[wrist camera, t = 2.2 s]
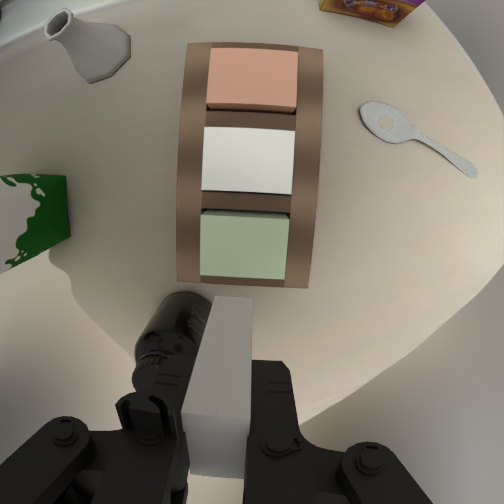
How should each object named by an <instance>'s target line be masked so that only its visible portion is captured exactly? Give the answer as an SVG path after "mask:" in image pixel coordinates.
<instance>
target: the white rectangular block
mask: <svg viewBox="0 0 504 504" xmlns="http://www.w3.org/2000/svg"><path fill="white" fill-rule="evenodd" d="M294 143H295V131H286V130H273V129H257V128H234V127H204V144H203V163H202V188H201V190H221V191H244V192H263V193H279V194H291V192H292V177H293V161H294Z"/></svg>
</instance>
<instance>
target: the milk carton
mask: <svg viewBox="0 0 504 504" xmlns="http://www.w3.org/2000/svg"><path fill="white" fill-rule="evenodd" d="M69 237H70V229H69V220H68V210H67V198H66V182H65V176H58V175H44V174H14V175H5V176H0V274H2V273H3V272H5V271H7V270H9V269H11V268H13V267H15V266H17V265H19V264H21V263H23V262H25V261H27V260H29V259H31V258H33V257H35V256H37V255H39V254H40V253H42V252H44V251H46V250H47V249H49V248H51V247H53V246H54V245H56V244H58V243H60V242H61V241H63V240H65V239H67V238H69Z"/></svg>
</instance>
